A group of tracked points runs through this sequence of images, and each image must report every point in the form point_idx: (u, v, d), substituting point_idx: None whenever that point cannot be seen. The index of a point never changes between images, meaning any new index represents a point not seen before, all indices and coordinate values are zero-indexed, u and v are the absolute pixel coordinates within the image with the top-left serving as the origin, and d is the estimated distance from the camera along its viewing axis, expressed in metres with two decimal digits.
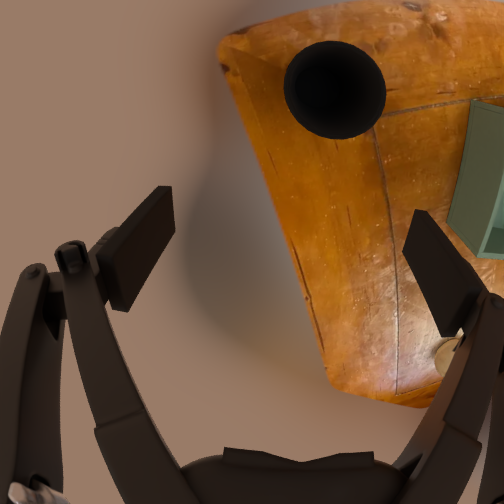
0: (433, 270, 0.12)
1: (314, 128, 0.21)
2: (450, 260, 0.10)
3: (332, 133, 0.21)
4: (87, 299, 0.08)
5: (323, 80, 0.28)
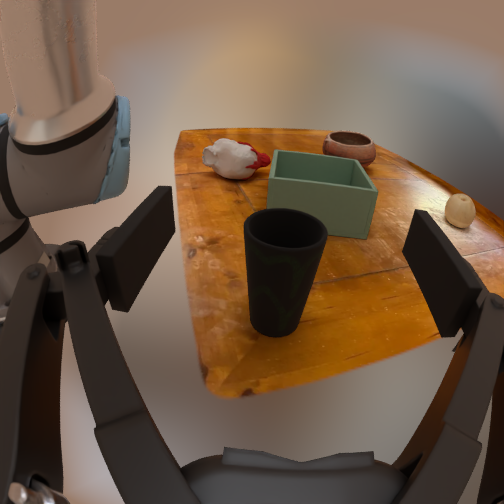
0: (433, 270, 0.12)
1: (321, 239, 0.26)
2: (450, 260, 0.10)
3: (323, 233, 0.27)
4: (87, 299, 0.08)
5: None
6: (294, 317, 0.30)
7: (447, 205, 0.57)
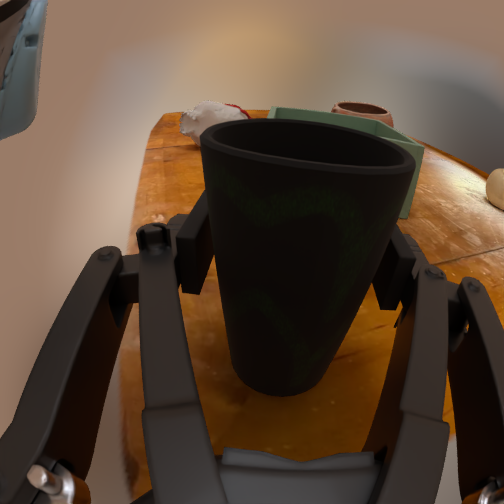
0: None
1: (406, 161, 0.09)
2: None
3: (398, 156, 0.10)
4: (163, 282, 0.09)
5: None
6: (325, 359, 0.13)
7: (490, 182, 0.40)
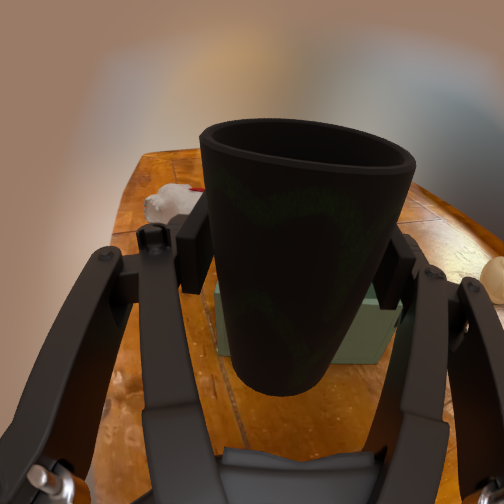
0: None
1: (406, 162, 0.09)
2: None
3: (398, 156, 0.10)
4: (163, 282, 0.09)
5: None
6: (325, 360, 0.13)
7: (485, 275, 0.38)
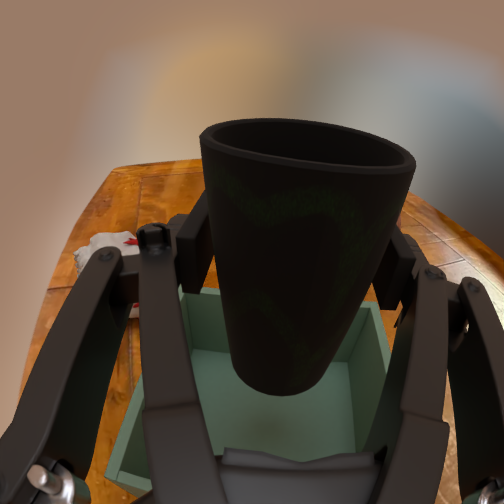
0: None
1: (406, 161, 0.09)
2: None
3: (398, 156, 0.10)
4: (163, 282, 0.09)
5: None
6: (326, 359, 0.13)
7: None
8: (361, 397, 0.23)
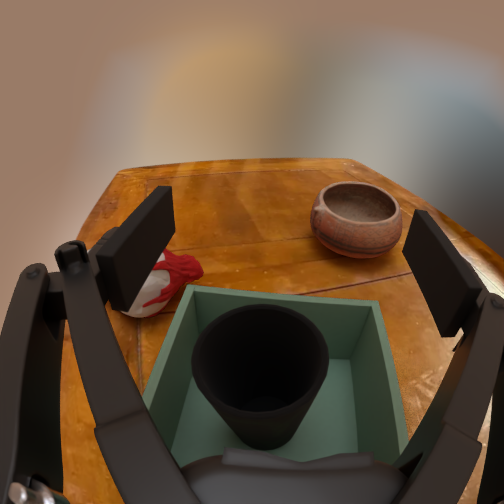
0: (433, 270, 0.12)
1: (316, 381, 0.14)
2: (450, 260, 0.10)
3: (321, 360, 0.16)
4: (87, 299, 0.08)
5: None
6: (286, 439, 0.20)
7: None
8: (363, 392, 0.24)
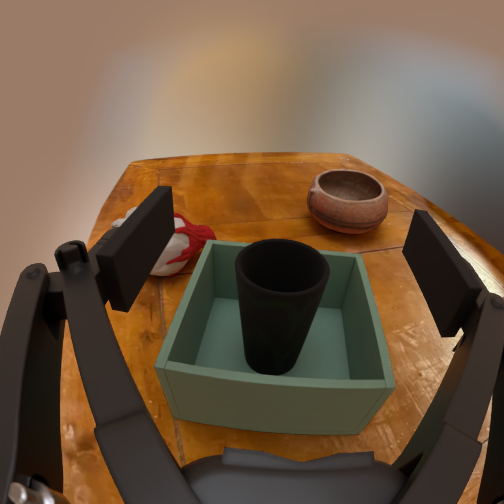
0: (432, 270, 0.12)
1: (322, 280, 0.23)
2: (450, 260, 0.10)
3: (324, 271, 0.24)
4: (87, 299, 0.08)
5: None
6: (291, 358, 0.27)
7: None
8: (351, 328, 0.31)
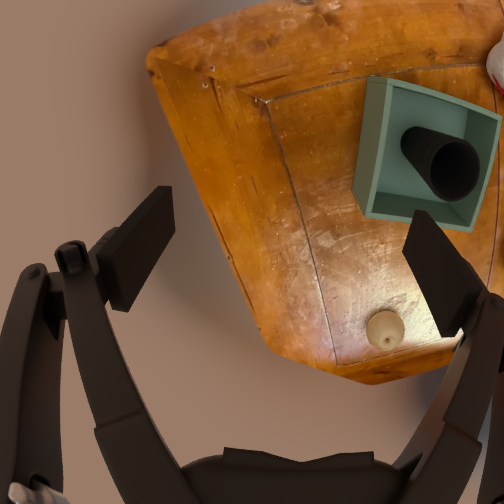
0: (433, 270, 0.12)
1: (437, 193, 0.29)
2: (450, 260, 0.10)
3: (446, 197, 0.29)
4: (87, 299, 0.08)
5: None
6: (407, 158, 0.36)
7: (394, 319, 0.52)
8: (424, 205, 0.39)
